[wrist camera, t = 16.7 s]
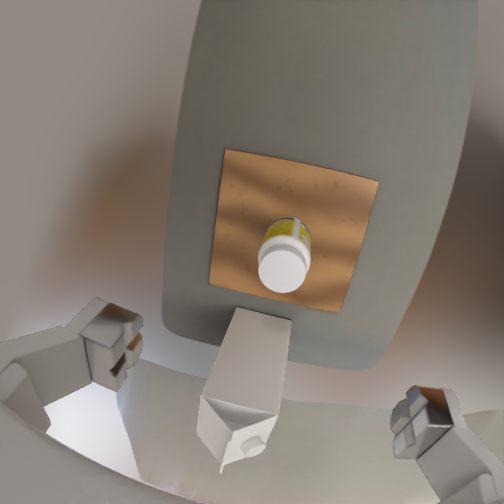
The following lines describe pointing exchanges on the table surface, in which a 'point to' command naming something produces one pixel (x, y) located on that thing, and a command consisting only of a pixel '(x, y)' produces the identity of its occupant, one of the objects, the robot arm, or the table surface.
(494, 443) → the table surface
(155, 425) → the table surface
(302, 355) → the table surface
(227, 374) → the milk carton
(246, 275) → the wooden board
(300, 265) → the supplement bottle
